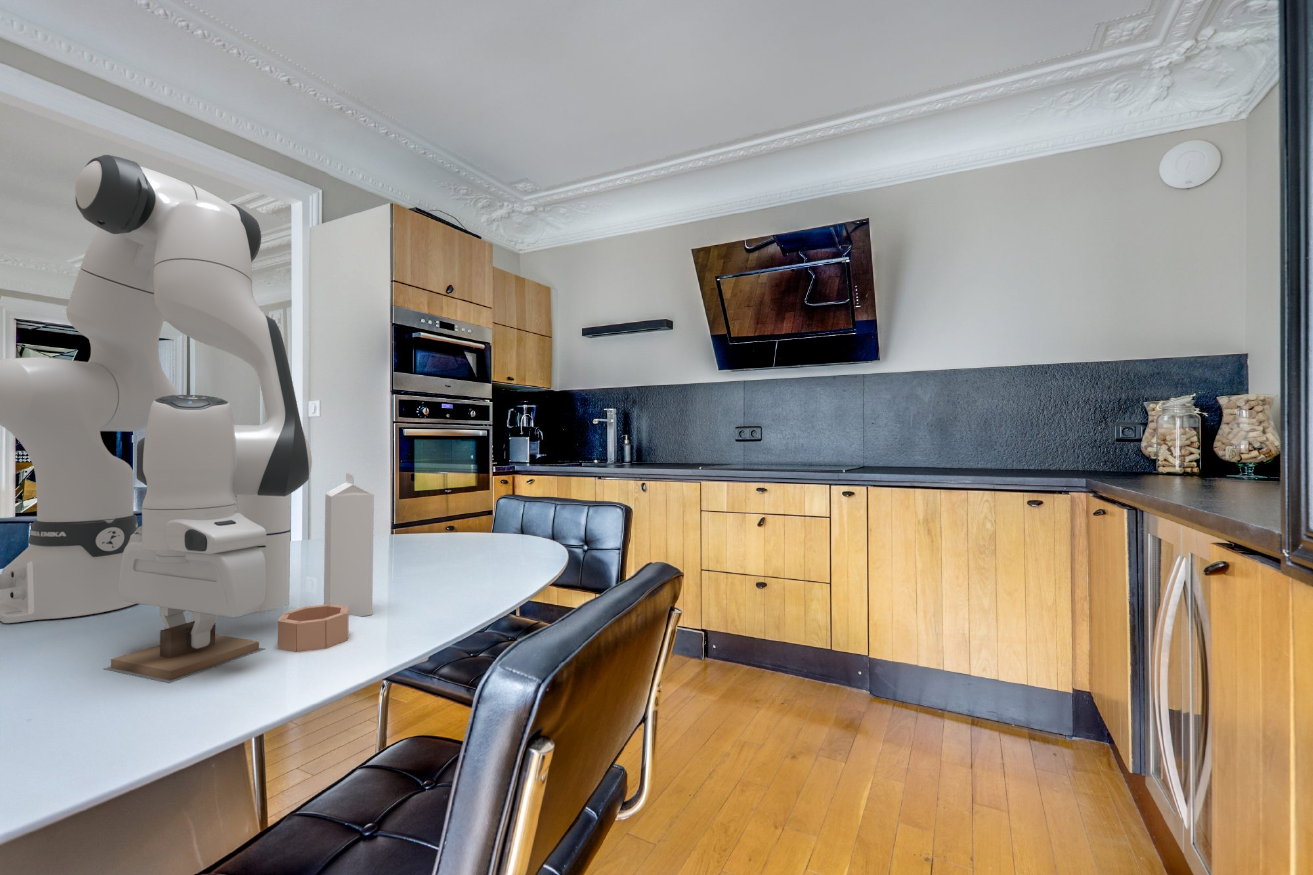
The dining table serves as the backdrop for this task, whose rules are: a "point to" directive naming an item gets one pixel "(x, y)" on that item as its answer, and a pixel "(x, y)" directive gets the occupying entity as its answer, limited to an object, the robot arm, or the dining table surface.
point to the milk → (349, 548)
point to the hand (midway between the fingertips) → (188, 644)
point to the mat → (179, 677)
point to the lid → (182, 654)
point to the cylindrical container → (272, 543)
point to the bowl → (313, 627)
